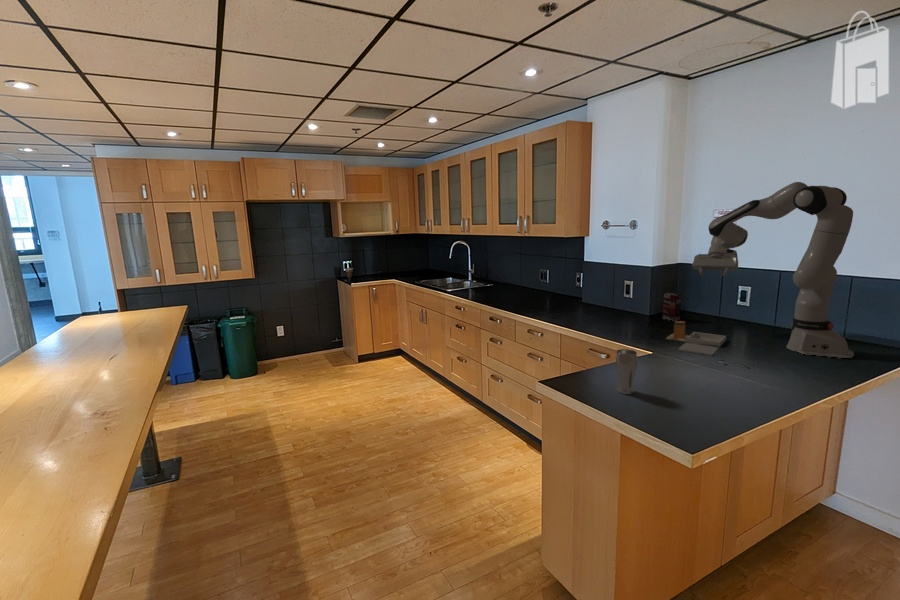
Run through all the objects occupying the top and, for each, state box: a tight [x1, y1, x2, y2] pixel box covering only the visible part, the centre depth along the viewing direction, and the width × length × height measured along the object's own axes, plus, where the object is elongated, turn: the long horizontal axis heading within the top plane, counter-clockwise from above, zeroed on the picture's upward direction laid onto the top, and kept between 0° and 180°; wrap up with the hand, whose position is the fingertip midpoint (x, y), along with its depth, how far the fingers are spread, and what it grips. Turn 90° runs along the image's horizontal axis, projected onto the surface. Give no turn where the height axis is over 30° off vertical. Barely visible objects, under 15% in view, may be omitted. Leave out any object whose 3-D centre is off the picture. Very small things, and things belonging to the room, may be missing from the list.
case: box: [677, 331, 727, 357], centre depth 200 cm, size 14×28×3 cm, turn 137°
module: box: [673, 320, 686, 339], centre depth 212 cm, size 4×4×8 cm
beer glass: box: [615, 348, 638, 394], centre depth 151 cm, size 7×7×15 cm
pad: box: [665, 332, 690, 343], centre depth 213 cm, size 9×12×1 cm
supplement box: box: [662, 292, 682, 322], centre depth 250 cm, size 9×5×16 cm, turn 25°
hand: (712, 275), depth 215 cm, fingers open, 8 cm apart
